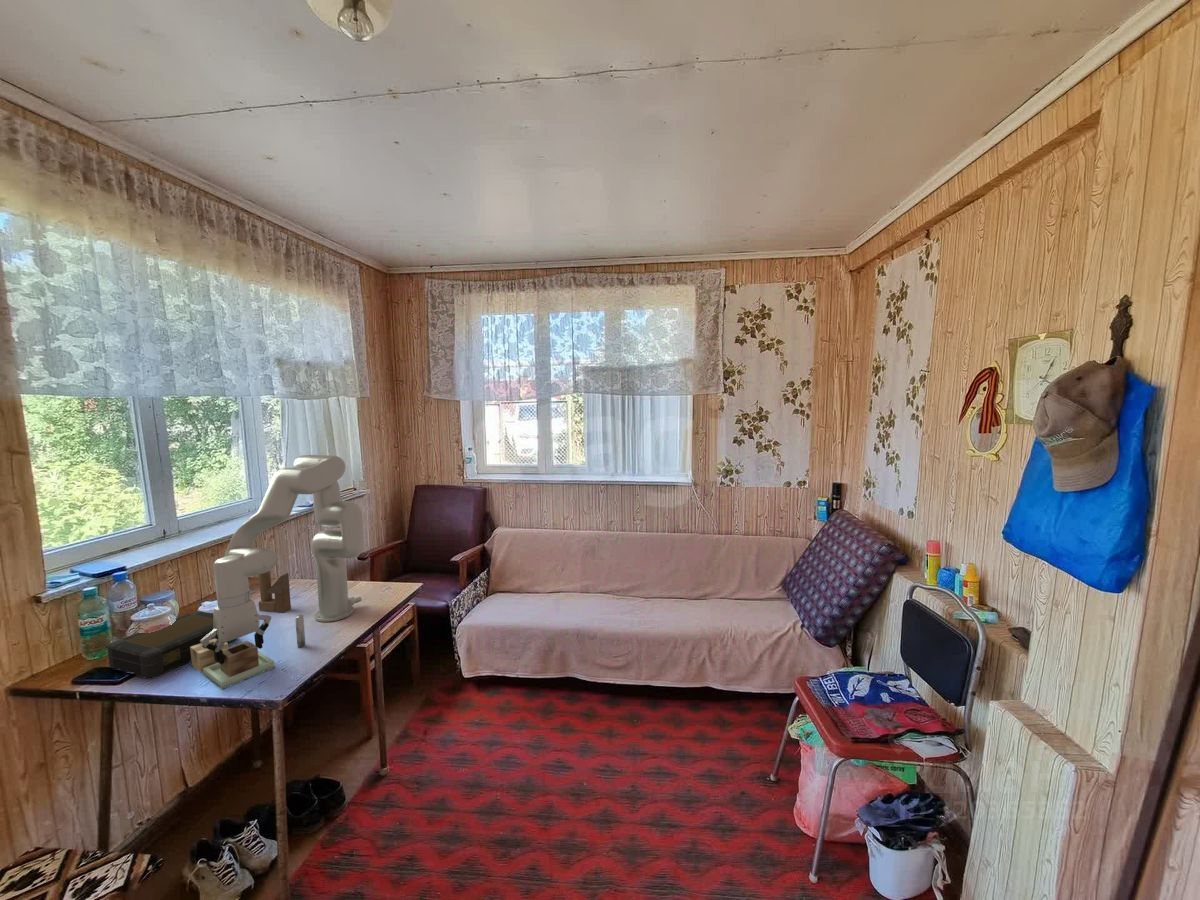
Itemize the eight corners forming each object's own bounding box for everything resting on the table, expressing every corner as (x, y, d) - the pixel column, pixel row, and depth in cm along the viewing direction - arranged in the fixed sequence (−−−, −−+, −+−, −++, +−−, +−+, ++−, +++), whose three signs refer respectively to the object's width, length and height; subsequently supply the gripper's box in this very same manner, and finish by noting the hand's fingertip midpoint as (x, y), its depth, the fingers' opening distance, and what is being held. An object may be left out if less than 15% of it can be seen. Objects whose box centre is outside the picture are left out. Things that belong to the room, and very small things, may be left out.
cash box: (198, 630, 167) (196, 609, 166) (240, 639, 160) (238, 617, 159) (105, 668, 143) (102, 644, 142) (150, 681, 137) (147, 655, 136)
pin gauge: (303, 643, 157) (301, 614, 156) (306, 645, 155) (304, 615, 154) (296, 646, 155) (293, 616, 154) (299, 648, 154) (297, 618, 152)
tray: (255, 654, 150) (254, 648, 150) (274, 667, 143) (274, 661, 143) (203, 674, 139) (202, 668, 139) (222, 689, 132) (221, 682, 132)
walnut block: (248, 659, 146) (246, 640, 145) (259, 666, 142) (257, 646, 141) (220, 670, 140) (218, 650, 139) (230, 677, 136) (229, 657, 136)
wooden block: (283, 613, 179) (280, 566, 177) (258, 611, 181) (254, 564, 179) (291, 608, 183) (288, 562, 181) (266, 606, 185) (263, 561, 183)
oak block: (220, 655, 150) (218, 637, 149) (229, 662, 146) (227, 643, 145) (192, 666, 144) (190, 646, 143) (201, 673, 140) (199, 653, 140)
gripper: (261, 585, 148) (267, 638, 150) (191, 607, 134) (198, 665, 136) (273, 591, 144) (279, 645, 146) (201, 614, 130) (209, 673, 132)
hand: (240, 654), depth 141 cm, fingers open, 9 cm apart
